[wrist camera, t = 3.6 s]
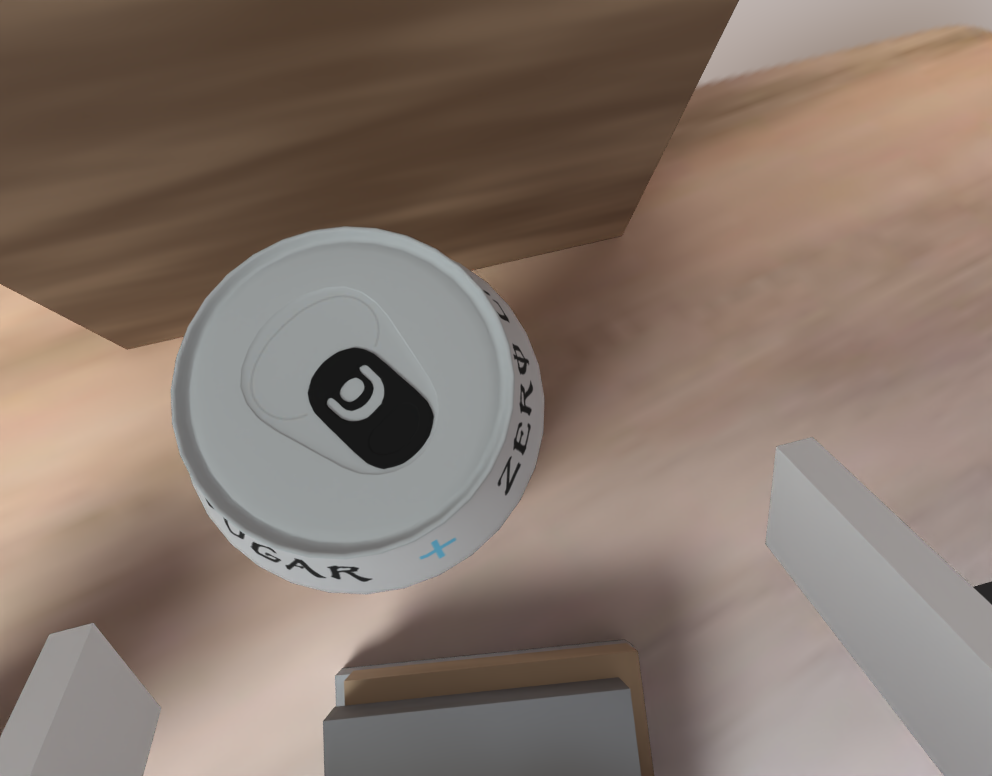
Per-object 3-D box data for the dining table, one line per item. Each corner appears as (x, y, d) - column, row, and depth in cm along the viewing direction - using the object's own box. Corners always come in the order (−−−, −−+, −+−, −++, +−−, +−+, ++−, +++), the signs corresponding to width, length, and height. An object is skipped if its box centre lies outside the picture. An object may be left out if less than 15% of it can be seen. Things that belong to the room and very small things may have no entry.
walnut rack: (636, 242, 26) (1255, -861, 5) (115, 363, 24) (-1971, -600, 4) (589, 98, 27) (932, -1208, 7) (93, 202, 25) (-1481, -1148, 5)
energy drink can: (423, 364, 24) (344, 115, 10) (539, 468, 24) (643, 370, 9) (310, 480, 23) (33, 395, 9) (429, 593, 23) (344, 711, 8)
